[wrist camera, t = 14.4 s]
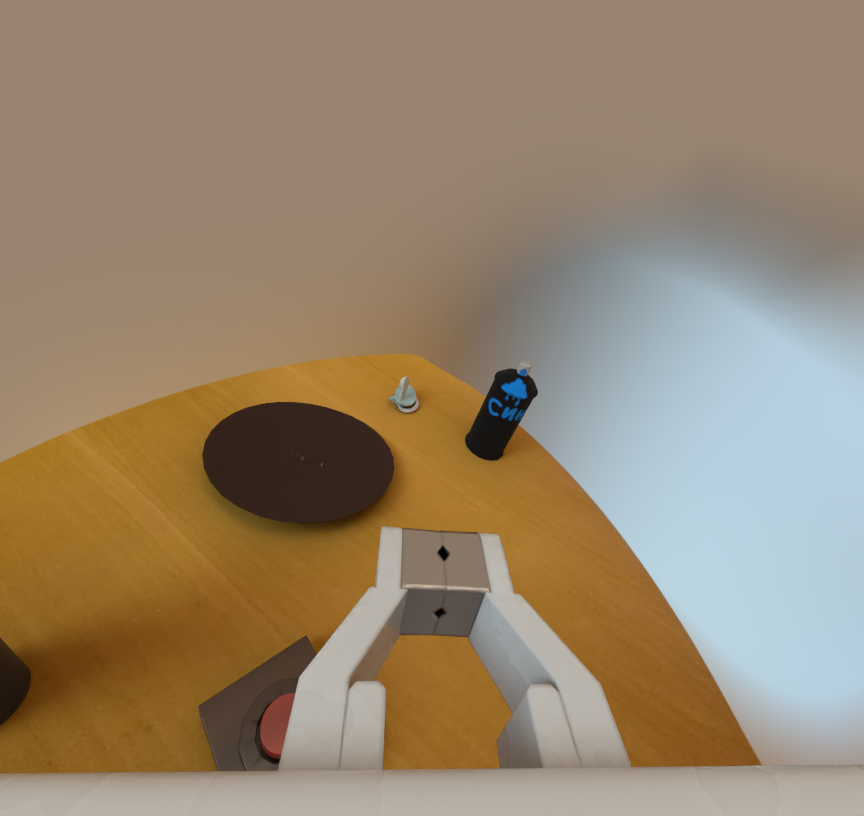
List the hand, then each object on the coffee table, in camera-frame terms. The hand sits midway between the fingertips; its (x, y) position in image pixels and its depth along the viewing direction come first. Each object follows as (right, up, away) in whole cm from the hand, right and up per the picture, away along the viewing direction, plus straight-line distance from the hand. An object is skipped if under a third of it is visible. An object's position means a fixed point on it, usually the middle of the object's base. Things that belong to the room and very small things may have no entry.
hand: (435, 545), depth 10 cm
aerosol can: (+10, -4, +67) cm, 68 cm away
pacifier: (-6, +4, +70) cm, 70 cm away
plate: (-20, -5, +51) cm, 55 cm away
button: (-13, -24, +22) cm, 35 cm away
